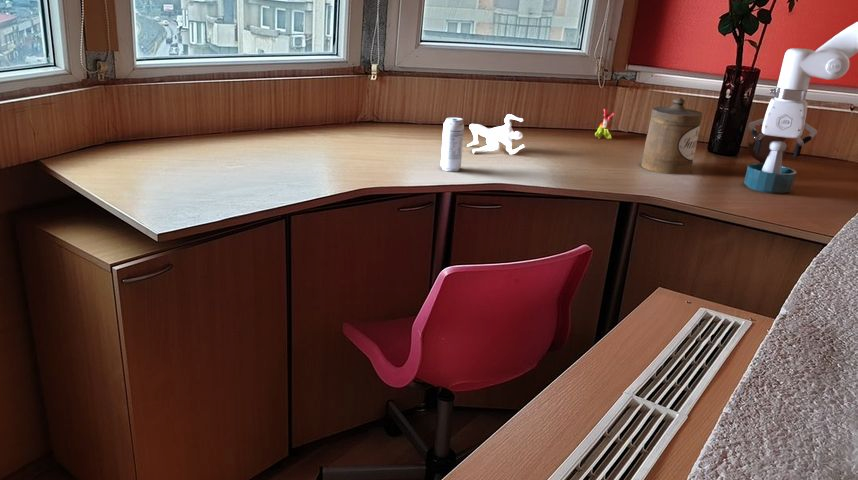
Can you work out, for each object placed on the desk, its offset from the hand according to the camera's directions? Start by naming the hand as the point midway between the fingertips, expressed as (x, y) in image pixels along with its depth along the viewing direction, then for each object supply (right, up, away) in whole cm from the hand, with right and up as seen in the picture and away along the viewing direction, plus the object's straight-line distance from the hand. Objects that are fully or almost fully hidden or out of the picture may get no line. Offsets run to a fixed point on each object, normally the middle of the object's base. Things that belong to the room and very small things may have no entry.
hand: (775, 156), depth 204 cm
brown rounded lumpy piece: (+5, -3, +19) cm, 20 cm away
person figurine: (-75, +6, +34) cm, 83 cm away
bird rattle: (-31, +16, +62) cm, 71 cm away
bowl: (-1, -9, +4) cm, 10 cm away
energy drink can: (-92, -3, +9) cm, 93 cm away
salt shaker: (0, -8, +3) cm, 9 cm away
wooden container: (-23, -1, +21) cm, 31 cm away
